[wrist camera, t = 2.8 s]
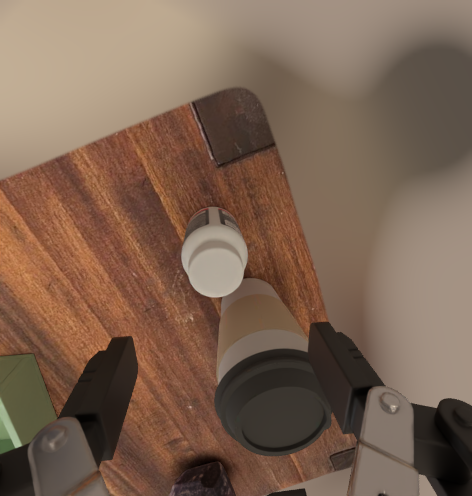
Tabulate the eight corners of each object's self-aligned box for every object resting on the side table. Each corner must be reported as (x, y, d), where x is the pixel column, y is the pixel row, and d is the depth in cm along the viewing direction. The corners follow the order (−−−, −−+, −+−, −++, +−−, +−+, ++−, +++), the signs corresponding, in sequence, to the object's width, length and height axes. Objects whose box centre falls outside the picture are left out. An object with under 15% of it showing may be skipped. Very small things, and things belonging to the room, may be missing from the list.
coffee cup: (222, 343, 33) (234, 486, 19) (201, 281, 30) (198, 401, 16) (292, 324, 33) (354, 453, 19) (279, 260, 30) (344, 361, 16)
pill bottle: (190, 257, 29) (182, 310, 20) (183, 207, 27) (171, 241, 18) (240, 252, 29) (255, 301, 20) (237, 203, 27) (252, 233, 18)
